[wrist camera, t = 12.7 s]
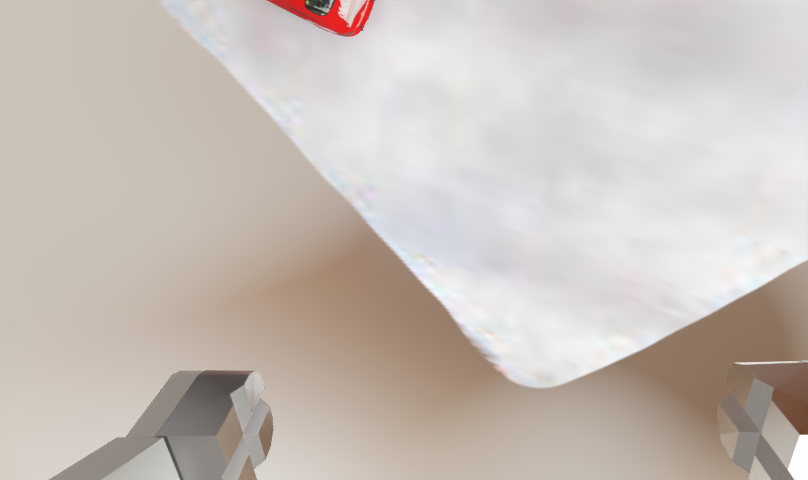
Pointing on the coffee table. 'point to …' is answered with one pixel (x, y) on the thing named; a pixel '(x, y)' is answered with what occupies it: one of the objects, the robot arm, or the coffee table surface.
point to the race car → (331, 13)
